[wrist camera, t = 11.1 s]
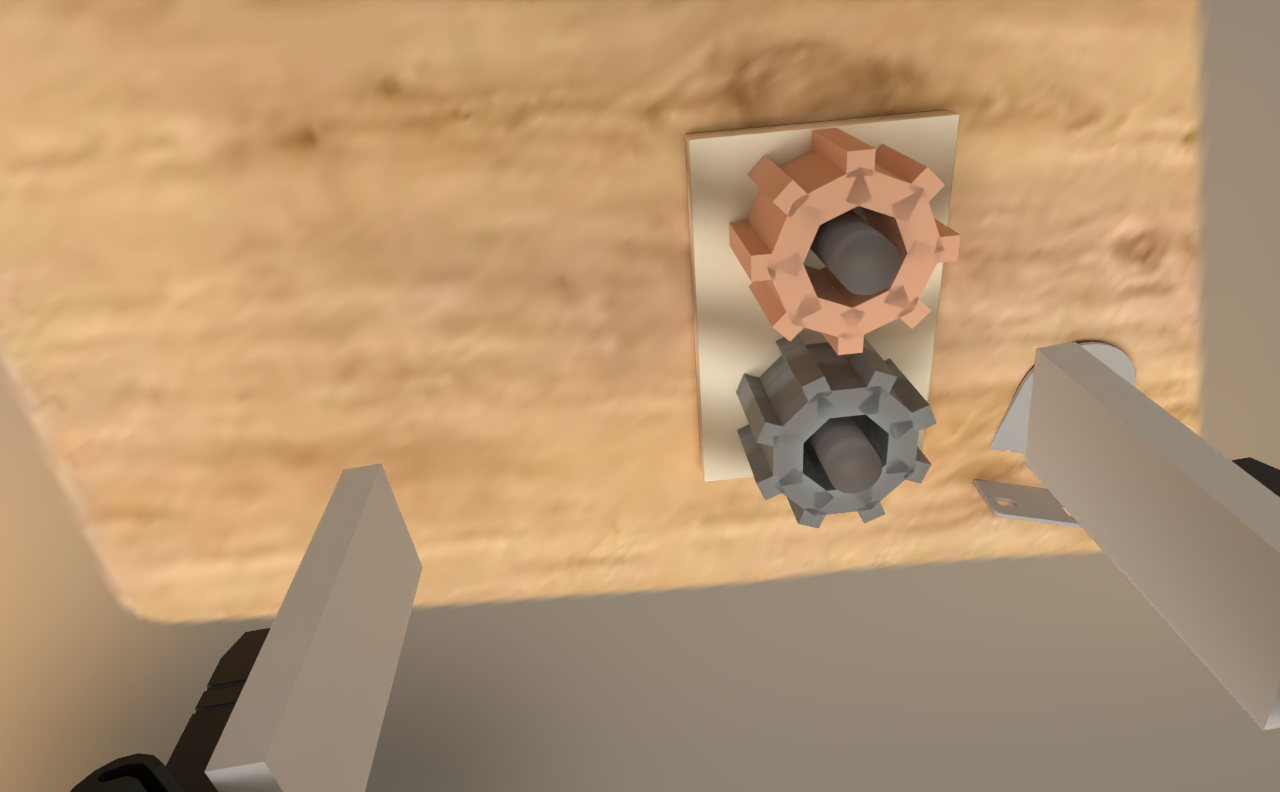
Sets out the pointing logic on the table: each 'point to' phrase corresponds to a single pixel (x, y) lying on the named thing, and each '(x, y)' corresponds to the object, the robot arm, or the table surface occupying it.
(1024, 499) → the bracket
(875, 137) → the gear board
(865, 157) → the gear
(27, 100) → the table surface
